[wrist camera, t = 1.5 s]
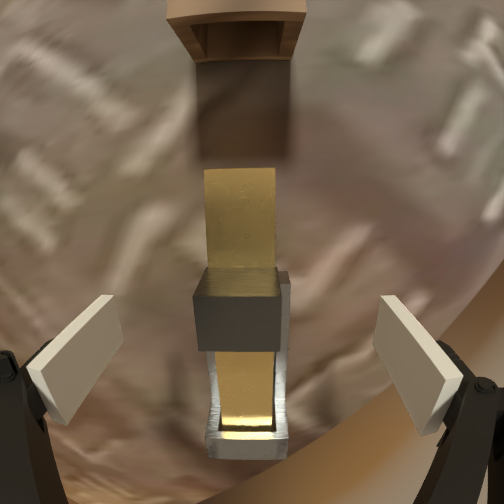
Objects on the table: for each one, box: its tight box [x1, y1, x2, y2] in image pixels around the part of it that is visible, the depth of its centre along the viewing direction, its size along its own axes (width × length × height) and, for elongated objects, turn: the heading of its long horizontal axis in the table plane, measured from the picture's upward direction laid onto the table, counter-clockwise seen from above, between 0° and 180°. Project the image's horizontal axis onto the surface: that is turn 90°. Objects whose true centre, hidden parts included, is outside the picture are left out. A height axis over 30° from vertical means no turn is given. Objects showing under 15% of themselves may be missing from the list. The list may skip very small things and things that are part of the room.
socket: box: [166, 0, 307, 63], centre depth 15 cm, size 7×5×8 cm
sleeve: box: [205, 271, 291, 460], centre depth 22 cm, size 6×14×7 cm, turn 1°
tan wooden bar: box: [193, 168, 282, 432], centre depth 19 cm, size 4×22×9 cm, turn 1°
